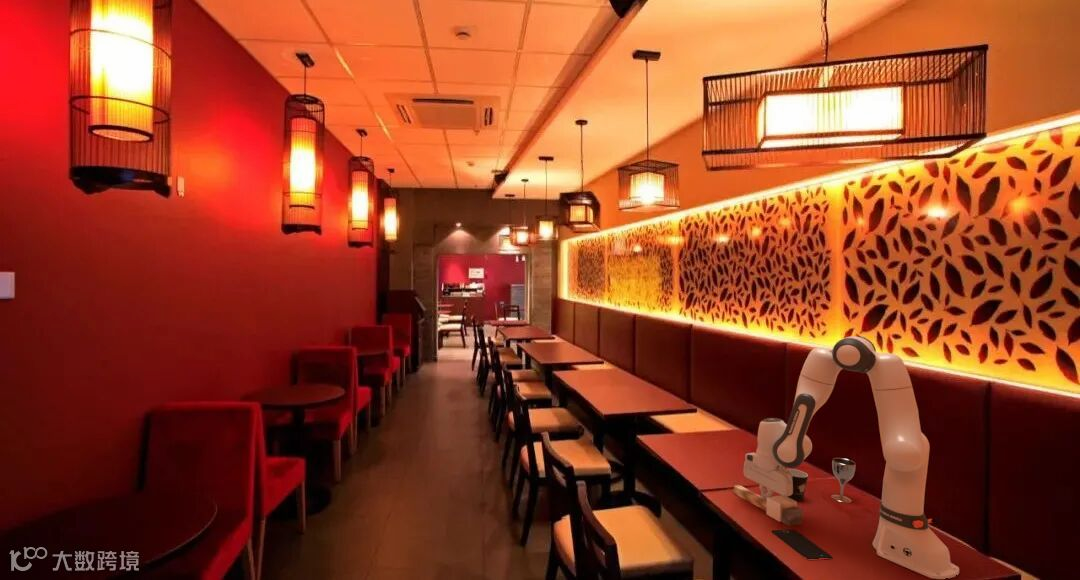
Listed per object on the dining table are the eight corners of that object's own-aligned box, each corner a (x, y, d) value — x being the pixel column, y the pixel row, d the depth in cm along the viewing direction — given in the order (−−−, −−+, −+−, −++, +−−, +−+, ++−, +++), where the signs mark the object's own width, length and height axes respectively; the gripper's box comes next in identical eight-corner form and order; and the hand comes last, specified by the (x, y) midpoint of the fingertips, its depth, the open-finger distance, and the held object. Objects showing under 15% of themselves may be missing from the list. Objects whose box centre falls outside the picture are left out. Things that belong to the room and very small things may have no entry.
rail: (801, 523, 185) (802, 509, 185) (789, 526, 182) (789, 512, 182) (742, 491, 211) (742, 479, 210) (730, 493, 208) (731, 481, 208)
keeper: (795, 518, 188) (796, 501, 188) (779, 521, 185) (780, 504, 185) (782, 511, 194) (783, 494, 194) (765, 514, 191) (766, 497, 190)
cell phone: (794, 531, 180) (794, 528, 180) (833, 560, 162) (833, 557, 162) (771, 532, 178) (771, 529, 178) (808, 561, 161) (808, 558, 161)
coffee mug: (801, 494, 211) (802, 469, 211) (809, 503, 202) (811, 478, 202) (771, 491, 212) (772, 467, 212) (778, 500, 204) (780, 475, 203)
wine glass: (833, 501, 206) (836, 463, 205) (827, 493, 214) (829, 456, 213) (855, 504, 204) (858, 466, 204) (849, 496, 212) (851, 459, 211)
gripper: (798, 471, 187) (795, 509, 187) (754, 451, 205) (751, 486, 206) (785, 472, 184) (782, 511, 185) (741, 452, 203) (739, 488, 203)
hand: (766, 498), depth 195 cm, fingers closed
